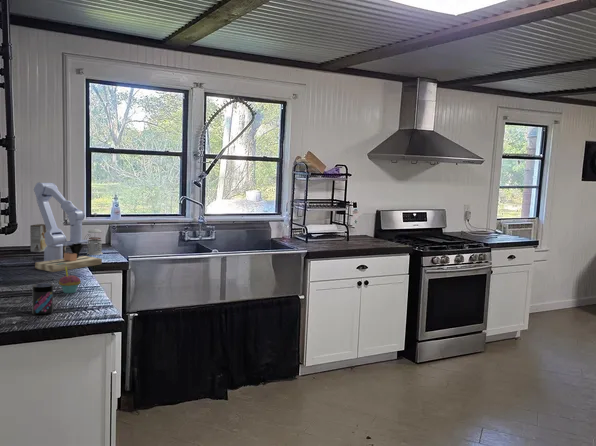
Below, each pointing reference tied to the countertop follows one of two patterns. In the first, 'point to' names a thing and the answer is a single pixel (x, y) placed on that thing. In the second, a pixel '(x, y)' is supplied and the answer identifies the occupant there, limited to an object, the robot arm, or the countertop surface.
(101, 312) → the countertop surface
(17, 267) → the countertop surface
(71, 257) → the fader knob
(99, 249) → the french press
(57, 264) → the fader console
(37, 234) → the coffee box
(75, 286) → the cupcake
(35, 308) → the supplement container
